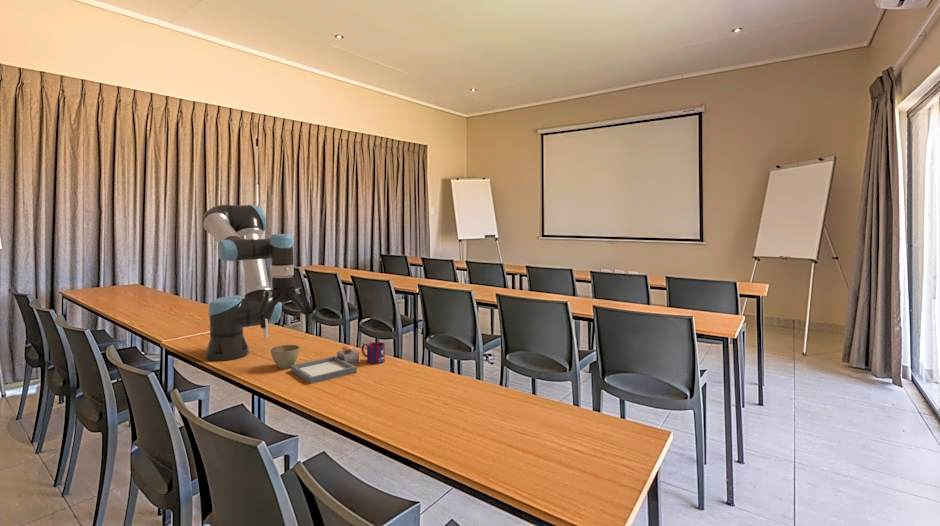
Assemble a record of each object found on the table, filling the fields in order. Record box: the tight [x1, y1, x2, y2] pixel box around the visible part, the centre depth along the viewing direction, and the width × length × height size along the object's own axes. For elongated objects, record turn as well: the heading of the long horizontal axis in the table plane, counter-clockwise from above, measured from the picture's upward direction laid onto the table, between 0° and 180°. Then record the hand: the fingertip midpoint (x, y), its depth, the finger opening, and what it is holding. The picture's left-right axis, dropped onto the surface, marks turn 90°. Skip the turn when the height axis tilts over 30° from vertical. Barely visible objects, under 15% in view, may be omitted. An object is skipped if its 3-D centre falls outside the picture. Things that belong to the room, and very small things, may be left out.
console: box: [336, 348, 360, 365], centre depth 178 cm, size 6×6×4 cm
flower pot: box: [270, 344, 300, 370], centre depth 172 cm, size 10×10×7 cm
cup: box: [361, 341, 386, 365], centre depth 180 cm, size 7×10×7 cm
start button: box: [341, 345, 354, 353], centre depth 178 cm, size 4×4×3 cm
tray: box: [290, 355, 358, 385], centre depth 167 cm, size 17×17×2 cm
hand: (285, 333), depth 170 cm, fingers open, 13 cm apart
